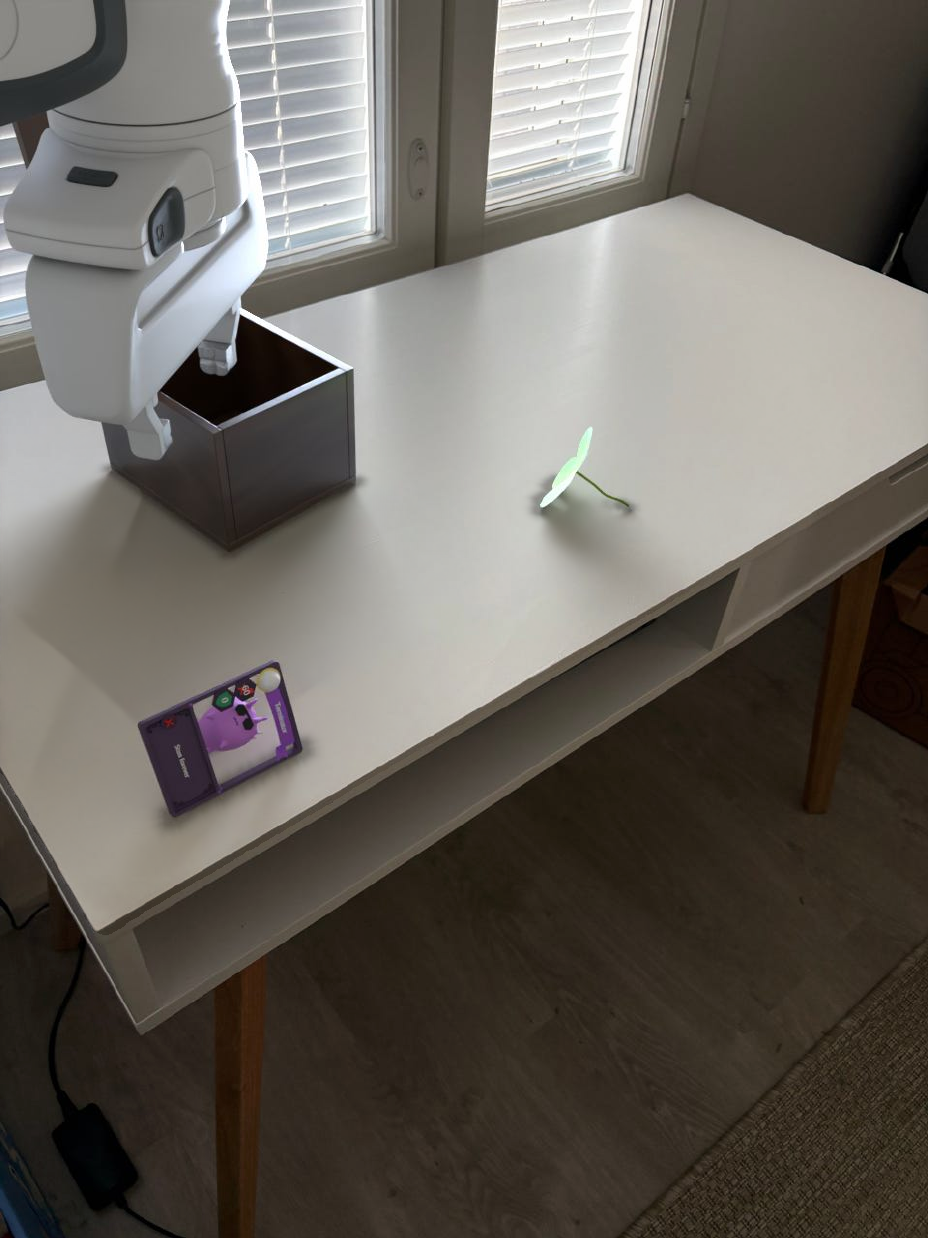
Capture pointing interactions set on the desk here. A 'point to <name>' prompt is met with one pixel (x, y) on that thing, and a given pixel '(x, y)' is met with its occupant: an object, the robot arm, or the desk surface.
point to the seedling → (573, 472)
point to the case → (249, 437)
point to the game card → (215, 737)
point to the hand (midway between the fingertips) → (188, 408)
